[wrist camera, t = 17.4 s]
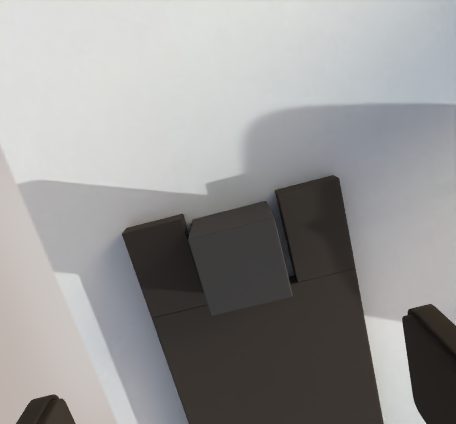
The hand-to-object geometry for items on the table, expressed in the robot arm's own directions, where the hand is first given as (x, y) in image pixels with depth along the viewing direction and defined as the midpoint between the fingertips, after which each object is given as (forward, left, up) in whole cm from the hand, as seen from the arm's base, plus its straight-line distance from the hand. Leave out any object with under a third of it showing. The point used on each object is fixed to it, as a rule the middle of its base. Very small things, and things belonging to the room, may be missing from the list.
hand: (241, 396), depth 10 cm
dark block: (+1, -1, -15) cm, 15 cm away
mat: (+3, -13, -15) cm, 20 cm away
